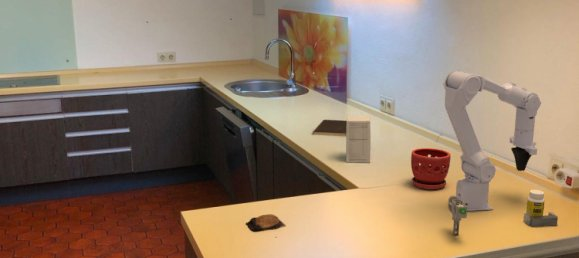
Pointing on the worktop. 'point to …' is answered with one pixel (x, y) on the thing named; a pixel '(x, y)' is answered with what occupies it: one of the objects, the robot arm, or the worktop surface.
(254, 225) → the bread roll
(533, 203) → the supplement bottle
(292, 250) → the worktop surface
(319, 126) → the hardcover book
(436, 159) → the plant pot
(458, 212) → the mechanical component
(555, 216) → the jig
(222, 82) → the worktop surface
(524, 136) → the robot arm
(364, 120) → the beige miniature cabinet
